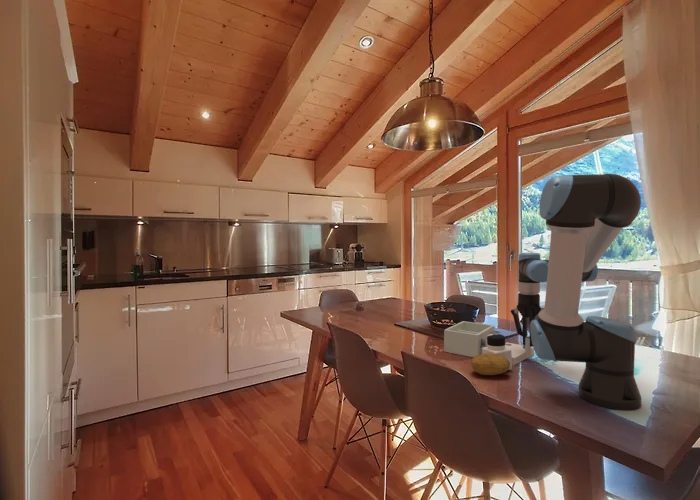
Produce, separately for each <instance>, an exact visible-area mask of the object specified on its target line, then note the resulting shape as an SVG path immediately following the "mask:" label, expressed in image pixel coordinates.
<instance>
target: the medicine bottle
mask: <svg viewBox="0 0 700 500" xmlns="http://www.w3.org/2000/svg"><path fill="white" fill-rule="evenodd" d="M505 343H506V337H505V335H503V334H499V333H495V334H490V335H488V336H487V346H488V347H484V348H482V354H488V353H489V354H495V355H500V356H503V357H505V358H506V359H507V360H508V361H509V362H510V367H509V369H508V370H507V371H511V370H513V365H512V354H511V349H508V348H505Z"/></svg>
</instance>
